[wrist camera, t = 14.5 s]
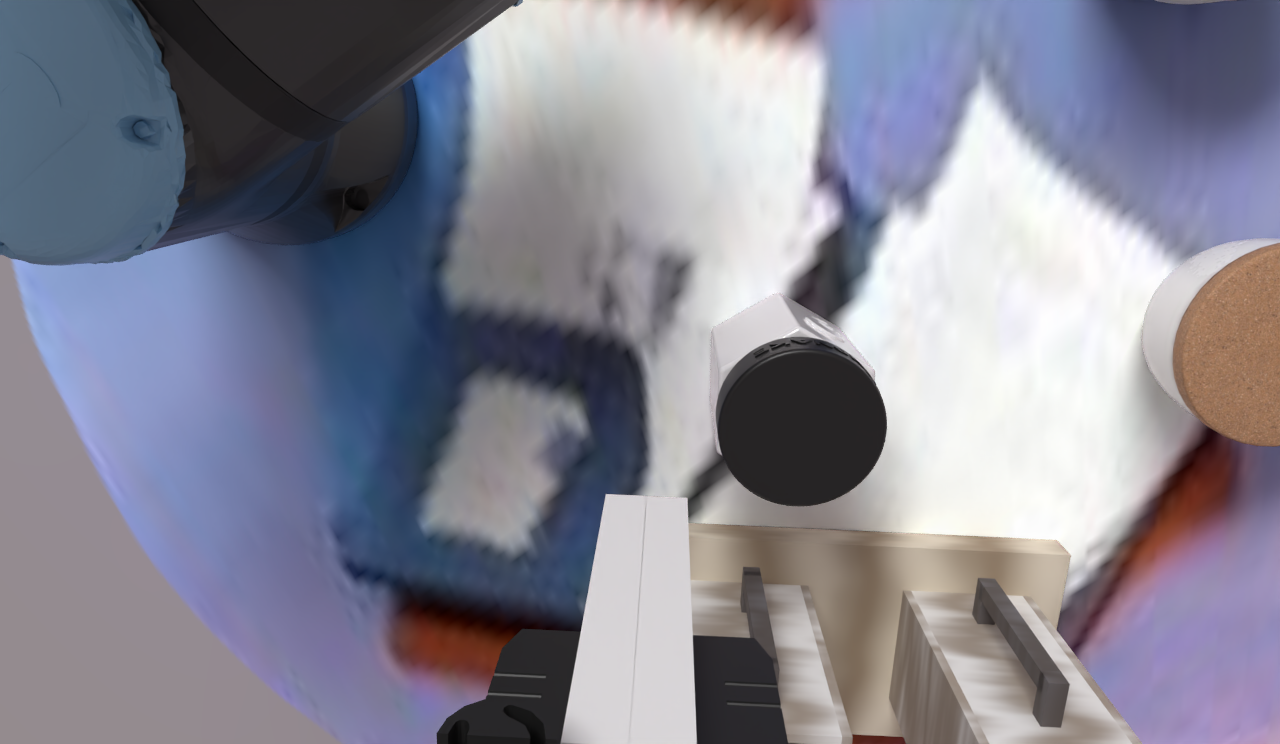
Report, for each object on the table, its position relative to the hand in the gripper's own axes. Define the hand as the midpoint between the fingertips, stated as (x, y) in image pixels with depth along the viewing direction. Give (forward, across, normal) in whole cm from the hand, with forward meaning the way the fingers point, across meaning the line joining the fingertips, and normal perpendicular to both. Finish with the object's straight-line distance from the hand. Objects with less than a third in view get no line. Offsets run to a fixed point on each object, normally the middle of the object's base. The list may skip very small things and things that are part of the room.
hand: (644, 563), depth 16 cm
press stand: (+36, +13, -24) cm, 46 cm away
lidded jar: (+37, +32, -2) cm, 49 cm away
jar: (+37, +7, -6) cm, 38 cm away
